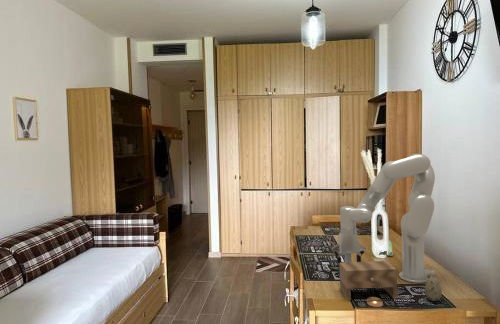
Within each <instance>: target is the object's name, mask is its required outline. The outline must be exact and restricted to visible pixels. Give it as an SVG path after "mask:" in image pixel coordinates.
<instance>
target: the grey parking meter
mask: <svg viewBox="0 0 500 324" xmlns="http://www.w3.org/2000/svg"><path fill="white" fill-rule="evenodd" d="M345 262H352V253H348V254H344V263H345Z"/></svg>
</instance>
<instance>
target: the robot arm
mask: <svg viewBox="0 0 500 324" xmlns="http://www.w3.org/2000/svg"><path fill="white" fill-rule="evenodd" d="M412 176H414V177H413V178H414V179H413V183H412V188H411V191H410V194H409V197H408V199H407V203H408V206H409V209H408V211H407V212H406V213H405V214H403V215H402V217H401V218H400V229H401V232H400V233H401V254H402V255H401V262H402V263H401V264H402V265H401V266H402V271H400V272H398V277H399V278H400V279H402V280H403V281H405V282H409V283H415V284H423V283H426V282H427V280H428V279H429V275H435V274H436V271H435V270H434V269H431V270H430V269H429V268H425V235H426V234H427V232H428V230H429V227H430V224H431V221H432V218H433V215H434V214H433V213H434V210H435V201H434V199H433V198H432V193H433V190H434V185H435V182H436V176H435V171H434V168H433V166H432V165H431V159H430V158H429V157H428V156H427V155H425V154H422V153H412V154H411V155H409V156H408V157H406V158H402V159H401V158H400V159H398V160H389V161H387V162H385V163H384V164H383V166H382V167H381V169H380V170H379V172H378V173H377V175H376V177H375V178H374V179H373V181H372V183H371V184H370V186H369V188H368V189H367V191H366V193H365V194H364V195H363V197H362V199H360V202H359V203H358V205H357V206H356V208H355V207H354V206H351V205H344V206H341V207H340V209H339V212H340V213H339V215H340V217H339V218H340V221H339V222H340V224H339V225H340V232H339V233H338V235H337V236H338V237H337V238H338V239H337V244H336V245H334V246H333V247H331V250H332V251H331V252H333V254H334V255H335V256H336V259H337V263H338V265H339V266H340V263H342V257H341V256H342V255H343V254H348V253H351V254H356V262H362V256H363V255H364V254H365V251H366V249H367V247H366V246H365V245H362V244H361V243H360V240H359V235H358V233H357V232H358V231H359V230H360V229H359V228H358V227H357V222H358V223H362V224H364V223H365V224H366V223H369V222H370V221H371V220H372V218H373V211H374V209H375V208H376V207H377V205H378V204H379V202H380V201H381V200H382V199H384V198H386V196H388V193H389V192H390V191H391V189H392V187H393V186H394V184H395V183H396V181H397V180H400V179H405V178H409V177H412ZM360 248H361V250H360ZM336 250H338V251H336Z"/></svg>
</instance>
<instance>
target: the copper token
mask: <svg viewBox="0 0 500 324" xmlns="http://www.w3.org/2000/svg"><path fill="white" fill-rule="evenodd" d="M383 302H384V301H383V299H381V298H379V297H376V296H369V297H367V298H366V304H367V305H368V306H369V307H374V308H381V307H383V305H384V303H383Z"/></svg>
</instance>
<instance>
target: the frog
mask: <svg viewBox="0 0 500 324" xmlns="http://www.w3.org/2000/svg"><path fill="white" fill-rule="evenodd" d="M378 240H380V238H377V241H378ZM389 256H390V257H393V256H394V252H393V243H392V242H391V240H389V251H388V257H389Z"/></svg>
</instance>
